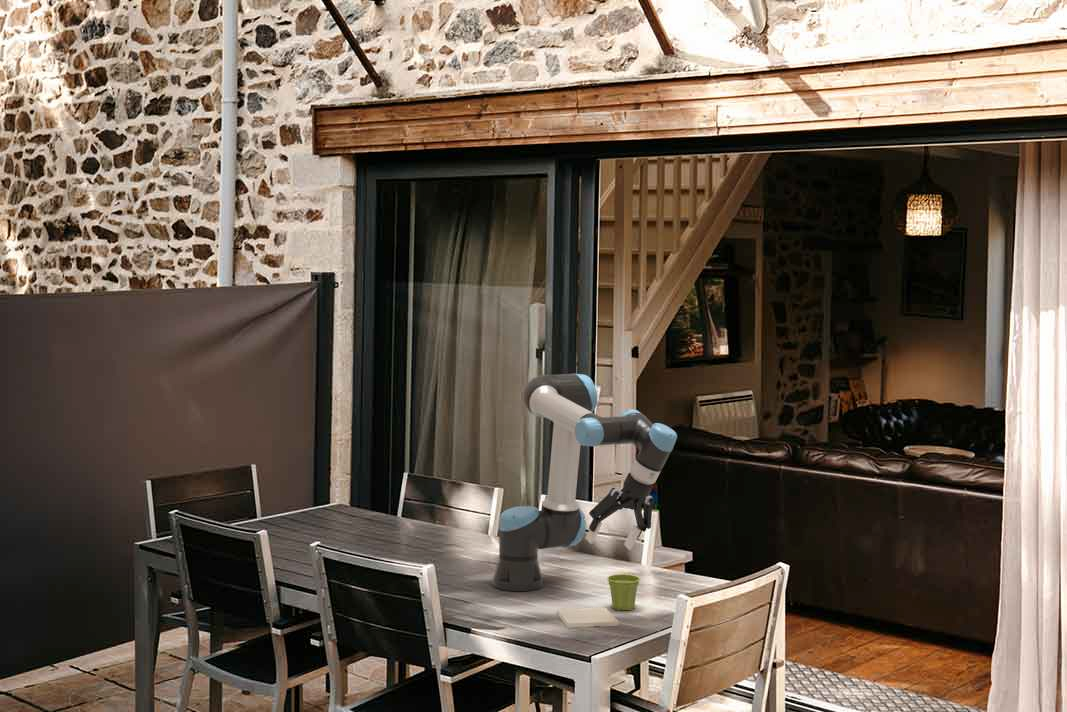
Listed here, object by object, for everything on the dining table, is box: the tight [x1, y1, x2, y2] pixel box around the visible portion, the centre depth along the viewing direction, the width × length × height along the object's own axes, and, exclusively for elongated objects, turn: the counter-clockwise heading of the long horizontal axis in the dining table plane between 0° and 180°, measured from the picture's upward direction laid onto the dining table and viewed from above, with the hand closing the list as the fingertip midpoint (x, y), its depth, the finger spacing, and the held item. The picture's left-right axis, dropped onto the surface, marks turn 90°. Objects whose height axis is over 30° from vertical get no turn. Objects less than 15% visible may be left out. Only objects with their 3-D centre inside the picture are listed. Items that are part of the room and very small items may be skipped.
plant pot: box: [606, 573, 641, 611], centre depth 353 cm, size 9×9×9 cm
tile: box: [556, 607, 619, 629], centre depth 341 cm, size 14×14×1 cm
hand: (608, 544), depth 340 cm, fingers open, 13 cm apart
